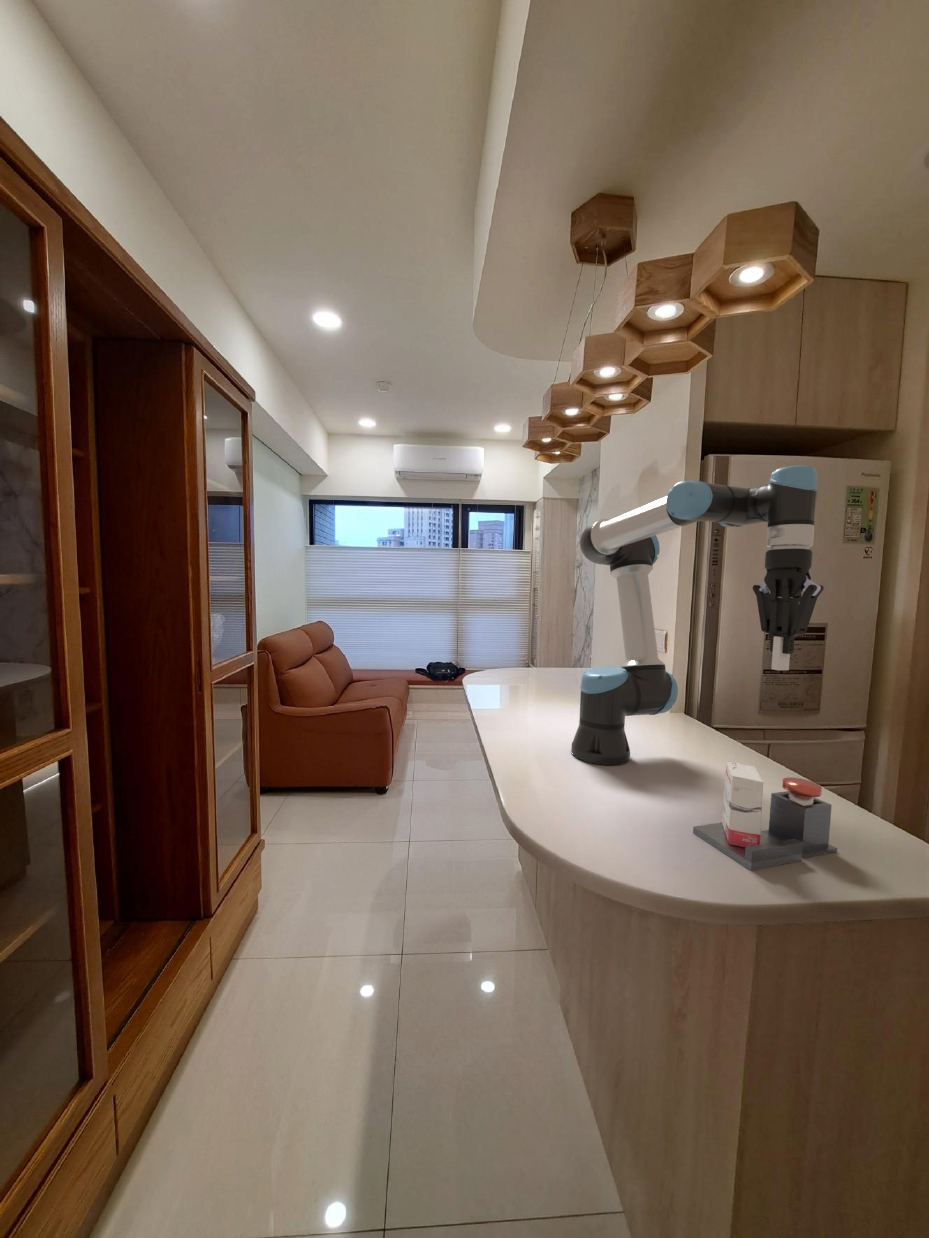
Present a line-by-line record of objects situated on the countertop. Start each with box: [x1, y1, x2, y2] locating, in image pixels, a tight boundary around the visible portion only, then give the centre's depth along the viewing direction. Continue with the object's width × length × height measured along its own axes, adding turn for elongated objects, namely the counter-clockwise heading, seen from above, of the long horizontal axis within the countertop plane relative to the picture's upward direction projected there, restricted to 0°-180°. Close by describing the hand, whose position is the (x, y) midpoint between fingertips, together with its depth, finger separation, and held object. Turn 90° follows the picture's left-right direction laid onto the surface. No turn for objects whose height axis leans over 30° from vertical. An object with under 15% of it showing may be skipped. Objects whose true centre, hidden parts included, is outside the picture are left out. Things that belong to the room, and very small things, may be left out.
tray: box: [692, 821, 803, 871], centre depth 82 cm, size 12×11×3 cm
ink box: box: [721, 761, 764, 847], centre depth 83 cm, size 9×5×12 cm, turn 157°
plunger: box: [782, 776, 823, 806], centre depth 83 cm, size 6×6×9 cm
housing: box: [761, 790, 838, 859], centre depth 83 cm, size 8×8×8 cm
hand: (780, 669), depth 93 cm, fingers closed
